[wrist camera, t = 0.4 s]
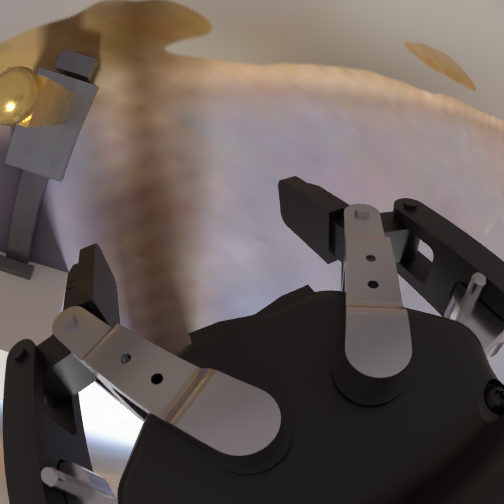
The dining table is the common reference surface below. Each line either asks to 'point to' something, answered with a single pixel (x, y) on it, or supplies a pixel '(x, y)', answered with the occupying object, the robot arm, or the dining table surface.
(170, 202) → the dining table surface
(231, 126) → the dining table surface
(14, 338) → the cabinet
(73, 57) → the rail
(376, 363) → the robot arm
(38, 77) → the gold sphere topped award
